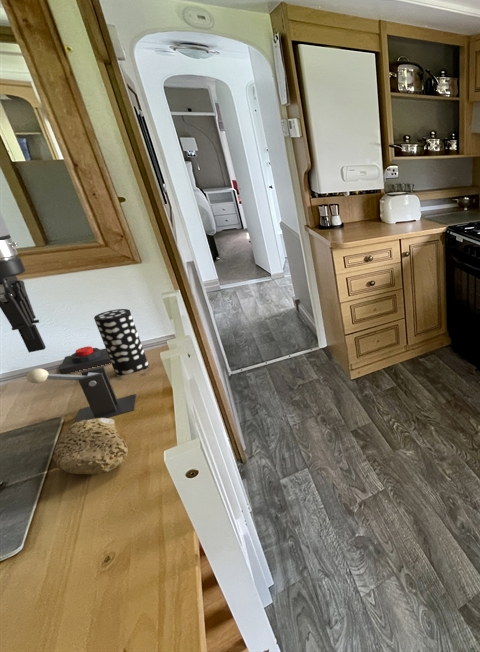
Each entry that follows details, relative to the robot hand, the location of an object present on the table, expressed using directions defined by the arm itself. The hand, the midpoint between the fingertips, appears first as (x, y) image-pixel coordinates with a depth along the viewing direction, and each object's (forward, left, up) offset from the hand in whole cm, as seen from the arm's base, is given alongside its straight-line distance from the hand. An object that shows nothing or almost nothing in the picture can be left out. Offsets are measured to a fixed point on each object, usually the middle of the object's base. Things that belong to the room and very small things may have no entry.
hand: (37, 349), depth 94 cm
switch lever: (+3, -5, -8) cm, 11 cm away
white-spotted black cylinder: (+13, +19, -20) cm, 30 cm away
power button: (+1, +33, -16) cm, 36 cm away
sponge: (+9, -25, -20) cm, 34 cm away
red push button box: (+1, +33, -20) cm, 38 cm away
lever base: (+9, -5, -20) cm, 22 cm away
